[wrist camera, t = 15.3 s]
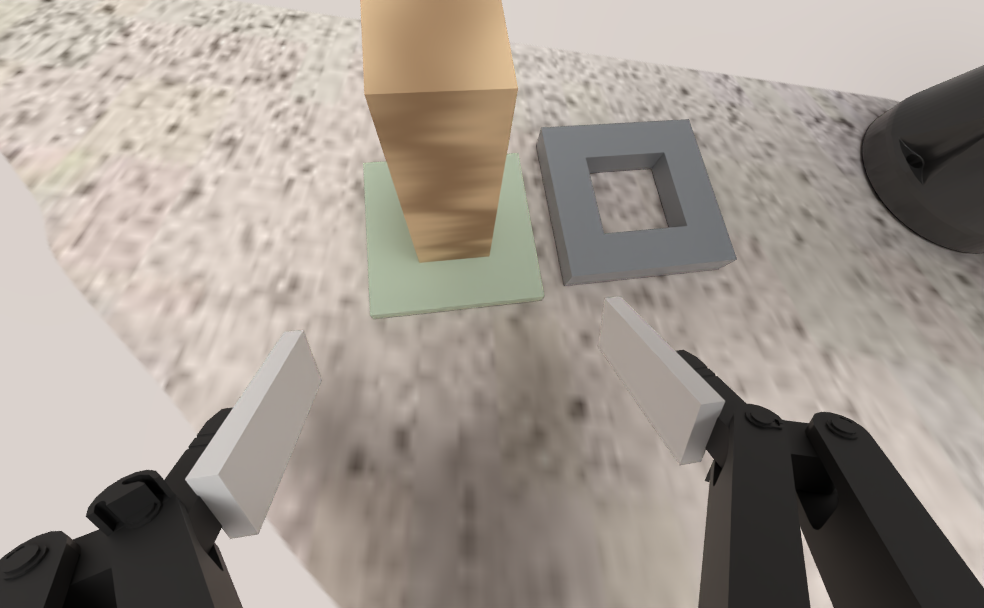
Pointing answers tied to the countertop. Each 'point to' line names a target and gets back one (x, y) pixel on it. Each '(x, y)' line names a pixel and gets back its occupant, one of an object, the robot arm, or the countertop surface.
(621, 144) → the pocket frame
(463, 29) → the oak peg
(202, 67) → the countertop surface
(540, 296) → the rubber pad
